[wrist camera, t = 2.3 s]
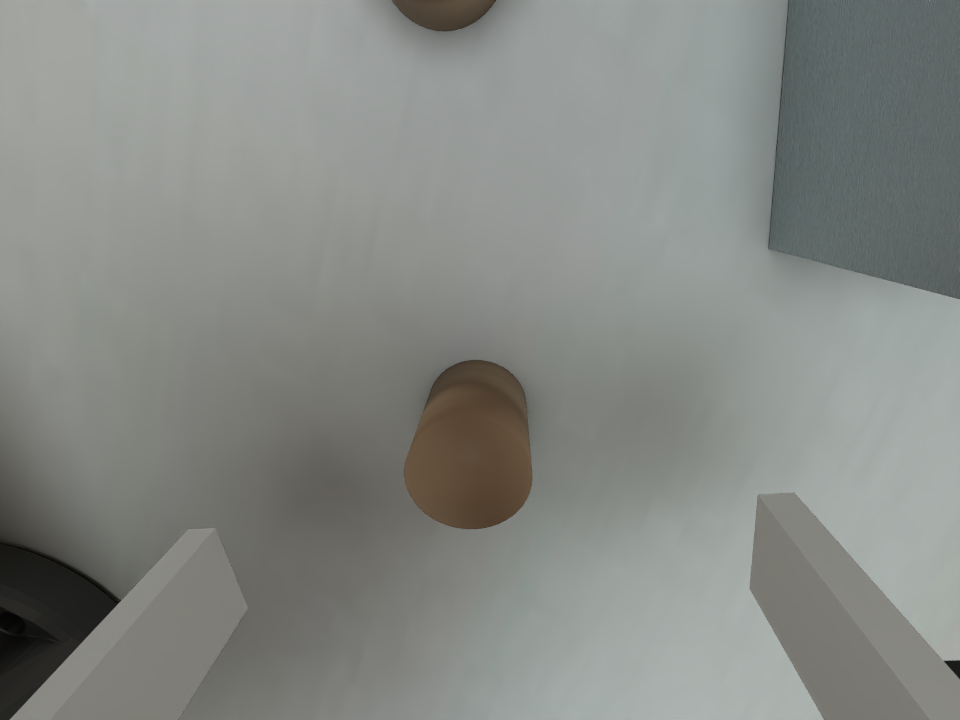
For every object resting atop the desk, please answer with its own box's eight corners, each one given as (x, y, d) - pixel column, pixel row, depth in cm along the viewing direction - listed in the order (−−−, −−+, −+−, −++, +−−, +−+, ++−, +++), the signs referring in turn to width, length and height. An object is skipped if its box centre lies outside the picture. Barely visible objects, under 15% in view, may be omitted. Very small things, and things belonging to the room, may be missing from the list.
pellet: (437, 451, 20) (416, 533, 16) (421, 365, 19) (393, 427, 14) (530, 443, 20) (537, 524, 15) (521, 355, 18) (525, 414, 14)
